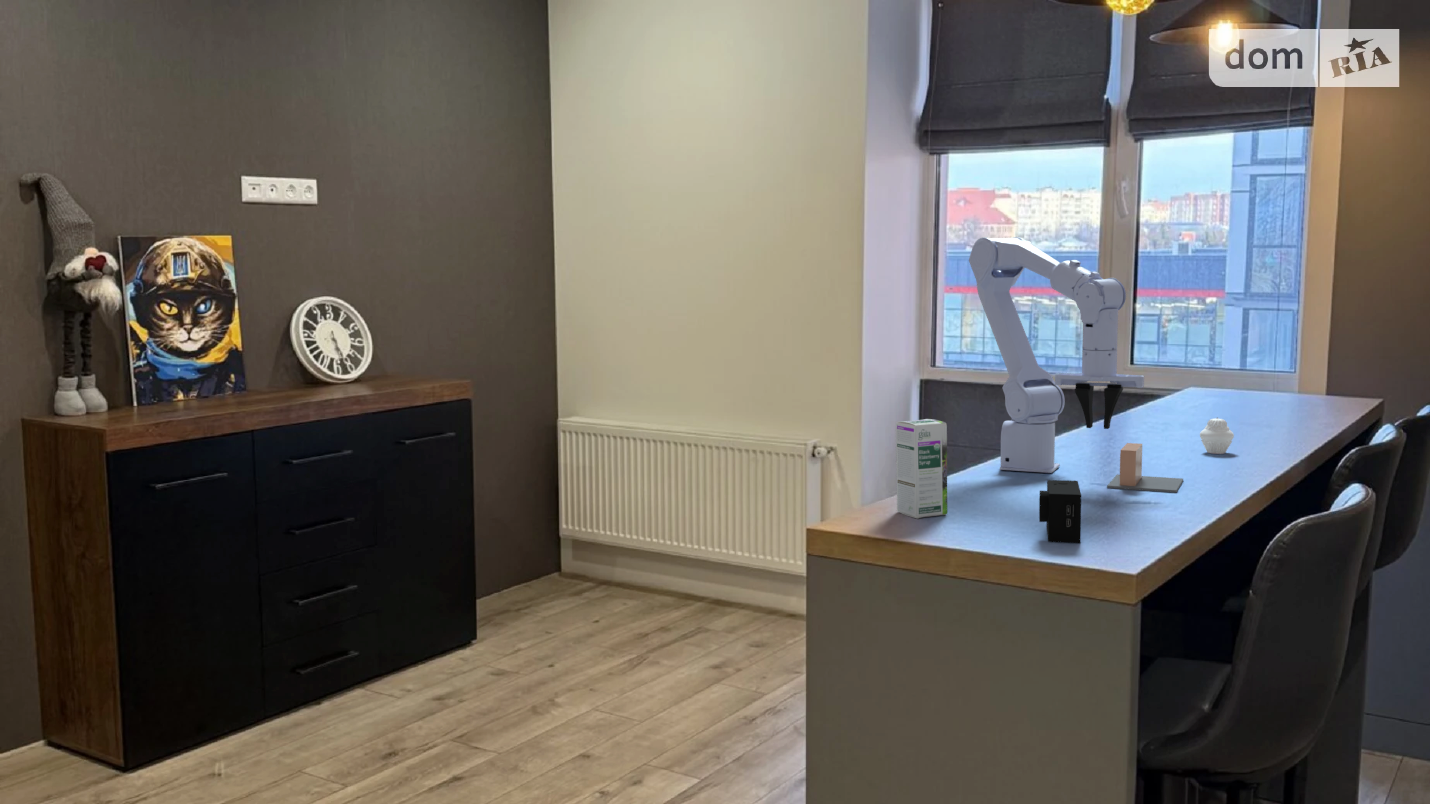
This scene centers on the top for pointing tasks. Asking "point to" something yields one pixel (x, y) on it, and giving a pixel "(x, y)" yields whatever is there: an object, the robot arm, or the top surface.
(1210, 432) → the muffin
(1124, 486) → the mat
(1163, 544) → the top surface
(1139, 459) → the block
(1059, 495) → the digital camera
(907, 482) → the syrup box
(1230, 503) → the top surface
